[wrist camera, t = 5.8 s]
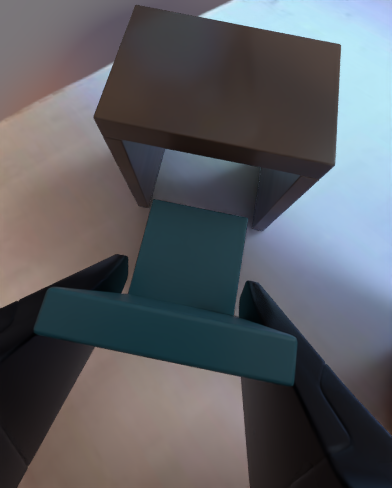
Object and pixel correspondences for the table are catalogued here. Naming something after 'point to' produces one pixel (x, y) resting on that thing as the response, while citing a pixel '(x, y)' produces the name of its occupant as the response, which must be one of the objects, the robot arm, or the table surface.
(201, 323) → the office chair
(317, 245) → the table surface
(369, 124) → the table surface
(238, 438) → the table surface
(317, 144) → the desk
